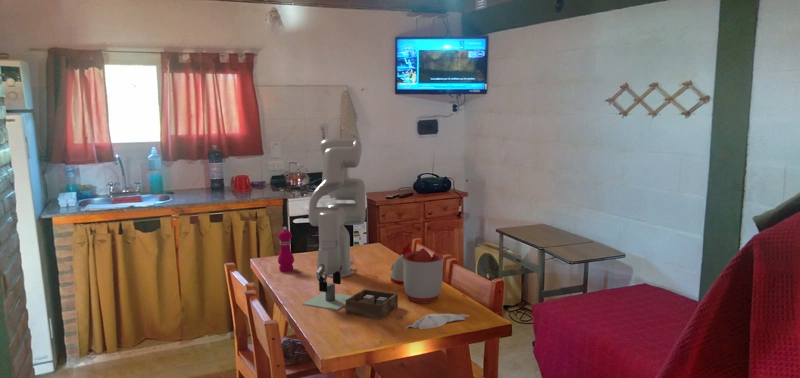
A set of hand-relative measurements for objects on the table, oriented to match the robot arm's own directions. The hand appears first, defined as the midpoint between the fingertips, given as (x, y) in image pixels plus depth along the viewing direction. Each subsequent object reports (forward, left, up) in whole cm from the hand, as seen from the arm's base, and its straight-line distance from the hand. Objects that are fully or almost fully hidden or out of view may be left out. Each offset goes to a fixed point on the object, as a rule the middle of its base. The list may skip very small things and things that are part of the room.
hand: (330, 287), depth 212 cm
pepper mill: (-27, -40, -6) cm, 48 cm away
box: (+2, +19, -5) cm, 20 cm away
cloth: (+2, +44, -6) cm, 45 cm away
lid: (0, 0, -6) cm, 6 cm away
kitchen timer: (-36, +16, -6) cm, 40 cm away
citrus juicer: (-18, +31, -6) cm, 36 cm away
